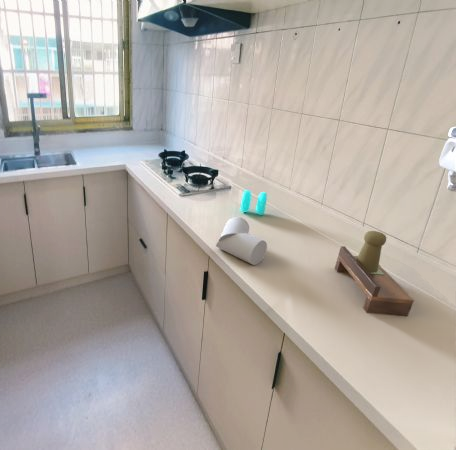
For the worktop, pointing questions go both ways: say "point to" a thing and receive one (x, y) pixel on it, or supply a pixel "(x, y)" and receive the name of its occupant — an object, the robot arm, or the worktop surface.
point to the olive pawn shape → (371, 251)
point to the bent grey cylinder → (242, 241)
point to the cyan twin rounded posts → (247, 199)
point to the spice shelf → (375, 287)
